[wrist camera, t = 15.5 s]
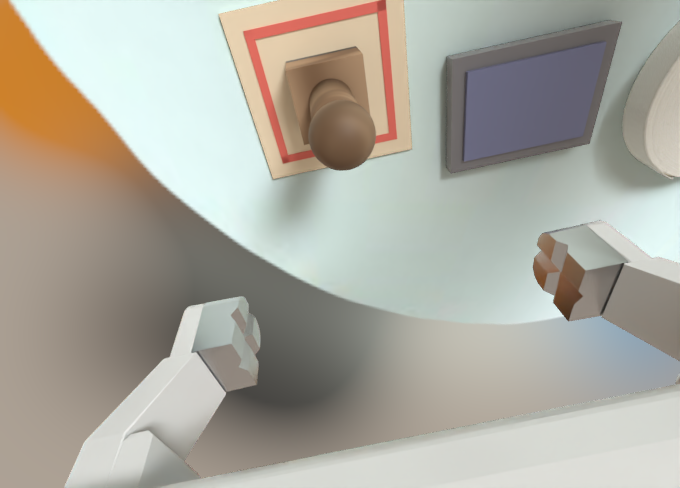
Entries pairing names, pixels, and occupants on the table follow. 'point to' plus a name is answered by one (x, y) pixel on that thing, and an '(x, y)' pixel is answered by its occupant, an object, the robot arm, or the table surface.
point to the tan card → (312, 39)
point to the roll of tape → (656, 109)
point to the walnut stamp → (333, 106)
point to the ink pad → (526, 95)
